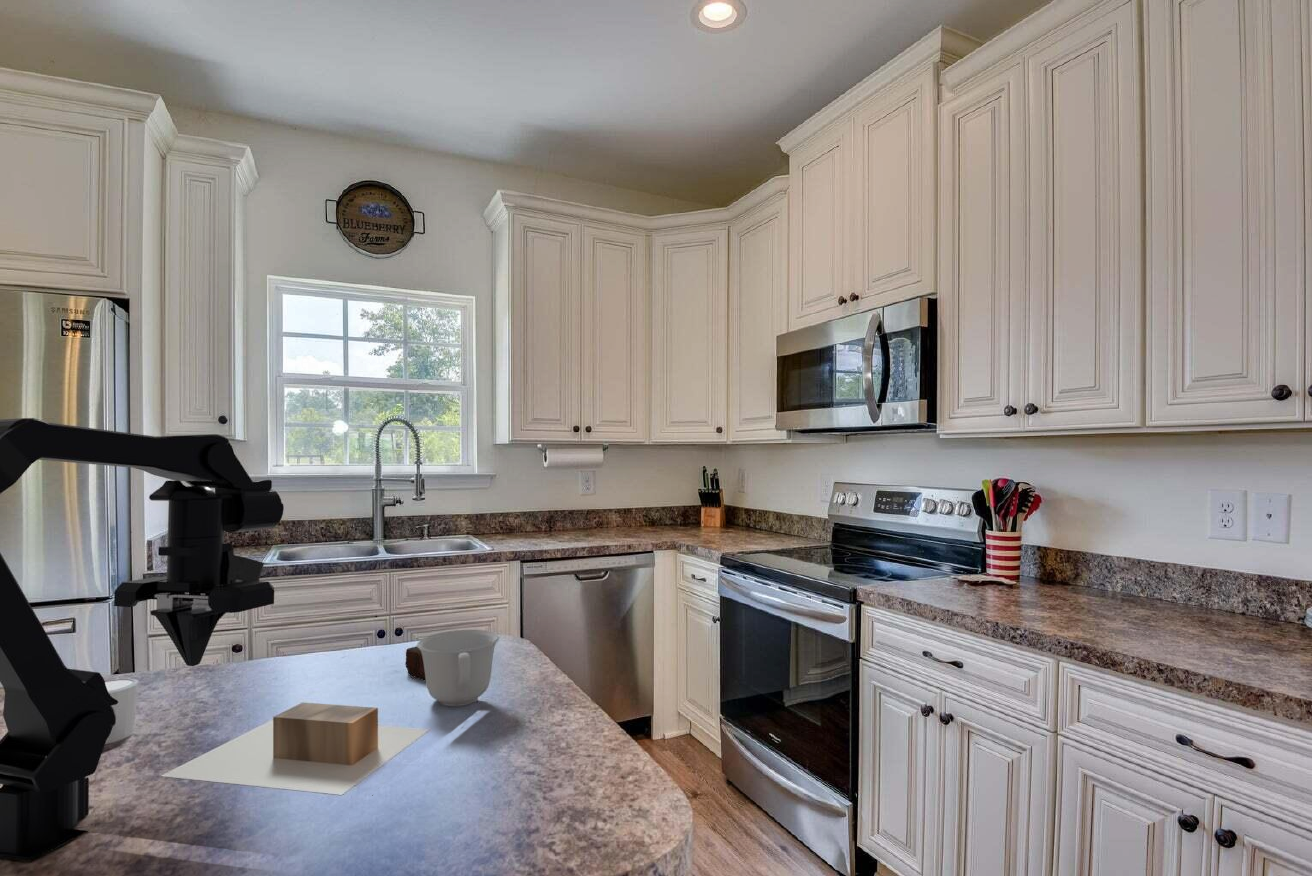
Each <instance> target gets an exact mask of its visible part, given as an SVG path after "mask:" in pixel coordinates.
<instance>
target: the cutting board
mask: <svg viewBox="0 0 1312 876" xmlns="http://www.w3.org/2000/svg"><path fill="white" fill-rule="evenodd" d="M429 731H431V728H430V729H428V728H418V727H417V728H416V727H406V726H405V727H404V726H395V725H393V726H391V725H379V724H378V748H377V749H375V750H374V751H373V752H371V753H370V754H368V755H367V756H365V757H364V758H362V759H361V760H360V761H358V762H357V763H355V764H354V765H342V764H331V763H320V762H310V761H299V760H288V759H278V758H273V719H271V720H269V721H268V722H265V723H262V724H261V725H259V726H257V727H255V728H253V729H251V730H249V731H247V732H245V733H243V734H242V735H241V734H240V735H239V736H237V737H235V738H233V739H231V740H229V741H227V742H225V743H223V744H221V745H219V746H217V747H215V748H213V749H211V750H209V751H208V752H206V753H202V754H201V755H199V756H197V757H195V758H193V759H192V760H189V761H188V762H186V763H183V764H182V765H180V766H178V767H175V768H173V769H171V770H169V771H167V772H166V773H163V774H162V775H160V777H163V778H172V779H183V780H192V781H201V782H212V783H220V784H231V785H240V786H249V787H258V788H259V787H260V788H267V789H268V788H269V789H278V790H286V791H296V792H306V793H315V794H316V793H318V794H324V795H335V796H343V795H345V794H346V793H347V792H349V791H350V790H351V789H352V788H354V787H355V786H356V785H358V784H359V783H361V782H362V781H363V780H365V779H366V778H367V777H368V776H370V775H371V774H373V773H374V772H375V771H377V770H378V769H379V768H380V767H382V766H384V765H386V763H387V762H389V761H390V760H392V759H393V758H394V757H396V756H397V755H398V754H399V753H401V752H402V751H404V750H405V749H406V748H408V747H409V746H411V745H412V744H413V743H414V742H416V741H417V740H418V739H420V738H422V736H424V735H426V734H427V733H428V732H429Z"/></svg>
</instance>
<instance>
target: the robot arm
mask: <svg viewBox="0 0 1312 876" xmlns="http://www.w3.org/2000/svg"><path fill="white" fill-rule="evenodd" d="M39 460H40V461H50V462H51V461H52V462H62V463H75V464H84V465H85V464H87V465H97V466H99V465H100V466H109V467H123V468H133V469H136V470H139V471H143V472H146V473H147V474H150V475H153V476H156V477H160V478H165V479H168V480H166V481H165V482H164V483H163V485H161V487H159V488H157V489H156V490H155V491H153V492H152V493H151V494H149V496H148V497H149V500H150V501H152V502H153V501H155V502H157V501H158V502H159V501H160V502H162V501H163V502H164V501H165V502H166V501H168V507H167V508H168V514H167V516H168V518H167V519H168V520H167V545H165V546H158V550H157V551H158V553H157V555H158V556H166V557H167V558H166V576H152V577H147V578H140V579H134V580H128V581H122V582H121V583H120V584H119V585H118V587H116V589H115V590H114V597H113V599H114V601H113V606H114V607H121V608H122V607H123V608H133V607H135V606H137V604H138V603H139V602H144V601H149V600H156V609H153V610H150V613H149V614H150V616H154V617H155V618H156V619H157V621H158V622H159V624H160V625H161V626H162V627H163V629H164V631H165V632H166V633H167V634H168V636H169V638H170V639H171V642H172V643H173V644H174V647H176V650H177V651H178V653H179V655H180V656H181V658H182V660H183V661H184V663H185V665H186V666H187V667H195V666H198V665H200V664H201V661H202V659H203V656H204V654H205V652H206V650H207V647H208V644H209V642H210V640H211V637H212V634H213V632H214V631H215V628H216V626H217V624H218V623H219V620H220V619H221V618H222V617H223V616H224V615H226V614H235V613H241V612H245V611H250V610H253V609H257V608H261V607H266V606H272V605H273V604H274V605H275V587H274V586H273V585H272V583H271V582H269V581H266V580H260V579H261V576H262V572H263V569H264V564H265V562H263V561H259V560H255V559H252V558H248V557H244V556H240V555H235V553H234V550H235V549H234V545H233V543H232V542H225V541H224V536H225V534H224V533H225V532H226V533H231V534H232V533H233V534H234V533H244V532H251V531H252V532H253V531H261V530H270V529H273V528H275V527H276V526H278V524H279V523H280V521H281V520H282V519H283V515H284V509H285V508H284V506H285V505H284V503H283V502H282V499H281V496H280V495H279V493H278V492H277V491H276V490H275V489H274V488H273V482H272V479H252V478H251V477H250V476H249V474H248V472H247V471H246V470H245V468H244V466H243V465H242V463H241V462H240V460H239V459H238V457H237V455H236V454H235V452H234V449H233V446H232V444H231V443H230V440H229V439H228V438H227V437H225V436H224V435H220V434H216V433H215V434H184V435H183V434H182V435H181V434H180V435H158V436H157V435H156V436H155V435H147V434H139V433H131V432H123V431H115V430H109V429H108V430H107V429H99V428H94V427H93V428H92V427H84V426H79V425H77V426H76V425H71V424H70V425H69V424H61V423H54V422H47V421H44V420H41V419H39V418H35V417H24V418H21V417H20V418H2V419H0V495H1V494H2V493H4V491H6V490H8V489H9V488H11V487H12V486H14V485H15V484H16V483H17V482H18V480H19V479H20V478H21V477H22V476H23V475H24V474H25V472H26V471H27V470H28V469H29V468H30V467H31V466H32V464H34V463H35V462H37V461H39ZM183 482H185V483H187V484H188V485H187V486H186V485H184V484H183ZM212 489H214V490H212ZM105 681H106V680H105V679H104V677H103V676H102V674H101V673H100V672H98V671H91V670H90V671H89V670H82V669H74V668H68V667H67V666H66V665H65V663H64V661H63V660H62V658H61V656H60V654H59V653H58V651H57V649H56V648H55V646H54V644H53V642H52V641H51V639H50V637H49V635H48V634H47V632H46V630H45V628H44V626H43V625H42V623H41V621H40V619H39V618H38V616H37V614H36V613H35V611H34V609H33V607H32V606H31V604H30V602H29V600H28V599H27V597H26V595H25V593H24V592H23V590H22V587H20V585H19V583H18V581H17V579H16V578H15V575H14V574H13V573H12V571H11V569H10V567H9V566H8V564H7V562H6V560H5V558H4V557H3V555H2V553H1V552H0V684H1V686H2V688H3V690H4V702H3V711H2V716H3V719H4V720H3V721H4V722H5V726H6V728H7V732H6V733H5V735H4V736H2V738H0V784H1V787H0V859H5V860H11V861H19V862H32V861H34V860H37V859H39V858H40V857H43V856H44V855H46V854H48V853H50V852H51V851H54V850H55V849H58V848H59V847H61V846H63V845H65V844H68V843H69V842H71V841H72V840H75V839H77V838H78V837H80V836H82V835H83V834H86V833H88V832H89V830H85V829H76V826H77V825H78V823H79V821H81V820H83V819H85V818H86V817H87V816H88V815H89V813H90V811H89V810H90V809H89V808H90V806H89V805H90V778H89V776H92V775H94V774H95V773H96V771H97V768H98V765H99V762H100V759H101V756H102V753H103V752H104V751H103V750H104V748H105V745H106V744H105V743H106V740H107V738H108V737H109V735H110V733H111V730H112V728H113V726H114V725H115V724H116V715H115V712H114V709H113V707H112V706H111V705H116V704H118V701H117V700H116V699H114V698H112V697H111V695H110V694H109V693H108V691H107V688H106V684H105Z"/></svg>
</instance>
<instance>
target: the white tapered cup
mask: <svg viewBox="0 0 1312 876" xmlns="http://www.w3.org/2000/svg"><path fill="white" fill-rule="evenodd" d="M104 681H105V684H106V688H107V691H108V693H109V694H110V695H111V697H112V698H114V699H116V700H117V701H118V704H116V705H111V706H112V707H113V709H114V712H115V715H116V724H115V725H114V726H113V728H112V730H111V733H110V735H109V737H108V738H107V740H106V743H105V745H108V744H113V743H117V742H119V741H122V740H125V739H127V738H128V737H130V736H132V735H133V733H134V731H135V730H134V728H135V721H136V712H137V703H138V694H139V687H140V686H139V685H140V681H139V679H136V678H116V679H110V680H109V679H108V680H104Z"/></svg>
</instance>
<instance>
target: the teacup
mask: <svg viewBox="0 0 1312 876" xmlns="http://www.w3.org/2000/svg"><path fill="white" fill-rule="evenodd" d="M499 640H500V635H498V634H497V633H496V632H493V631H490V630H483V629H459V630H449V631H443V632H438V633H433V634H430V635H428V636H424V637H423V638H421V639H420V640H419V641H418V642H417V643H416V646H417V647H418V648H419V649H420V650H421V653H422V657H423V662H424V670H425V678H426V681H425V683H426V689H427V690H428V691H427V692H428V693H429V695H430V697H432V699H434V700H435V701H438V702H440V704H441V705H443V706H445V707H446V706H448V707H459V706H460V707H461V706H466V705H469V704H473V703H474V702H479V699H478V698H480V697H481V696H482V695H484V694H485V692H486V691H487V690H488V688H489V686H490V682H491V676H492V670H493V660H494V652H495V647H496V645H497V643H498V641H499Z"/></svg>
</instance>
